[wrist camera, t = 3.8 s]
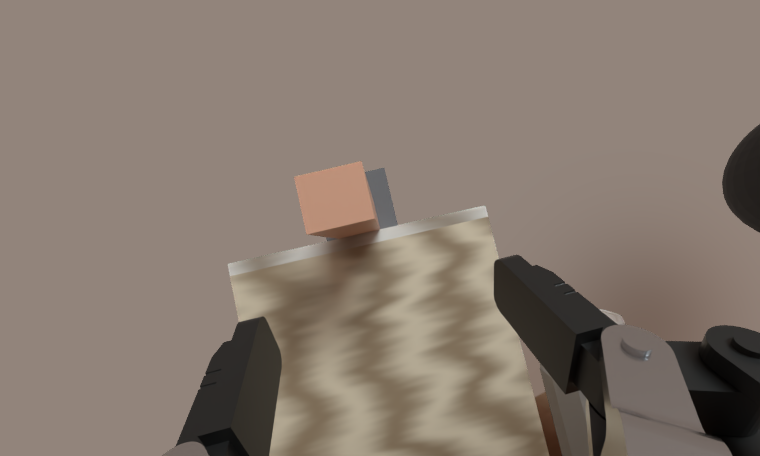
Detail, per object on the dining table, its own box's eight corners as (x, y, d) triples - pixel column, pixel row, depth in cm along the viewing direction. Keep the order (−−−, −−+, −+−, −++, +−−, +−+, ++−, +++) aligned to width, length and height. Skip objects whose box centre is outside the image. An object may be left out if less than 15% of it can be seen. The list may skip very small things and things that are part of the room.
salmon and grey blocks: (337, 244, 35) (326, 194, 35) (396, 230, 35) (384, 180, 35) (272, 242, 15) (248, 128, 15) (408, 210, 15) (381, 96, 15)
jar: (686, 473, 32) (638, 305, 33) (686, 555, 25) (626, 339, 26) (580, 444, 39) (543, 306, 40) (557, 501, 32) (514, 333, 33)
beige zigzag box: (514, 485, 35) (448, 219, 37) (584, 592, 24) (485, 205, 26) (327, 544, 33) (268, 260, 35) (311, 688, 22) (227, 264, 24)
